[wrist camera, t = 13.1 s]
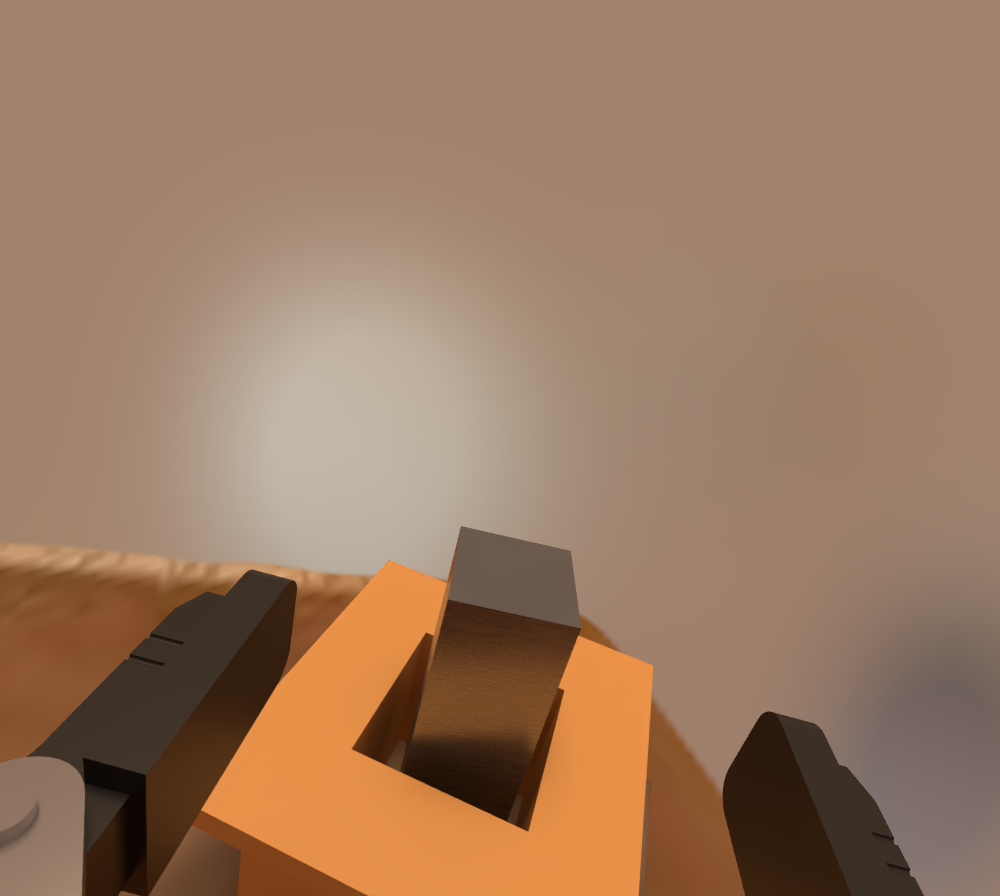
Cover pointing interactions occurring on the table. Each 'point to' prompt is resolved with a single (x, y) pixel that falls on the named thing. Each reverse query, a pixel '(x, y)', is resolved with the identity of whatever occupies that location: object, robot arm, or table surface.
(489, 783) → the dark grey rectangular block
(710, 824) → the table surface
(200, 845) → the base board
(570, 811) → the orange square collar
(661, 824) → the table surface
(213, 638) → the robot arm
